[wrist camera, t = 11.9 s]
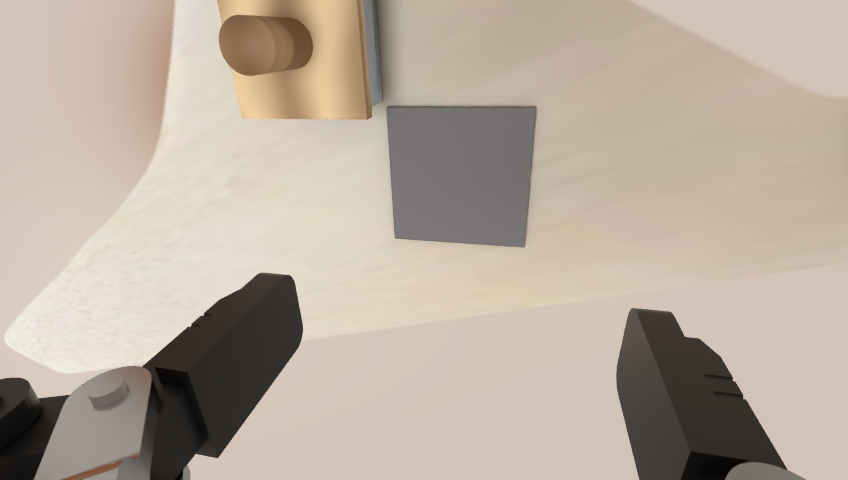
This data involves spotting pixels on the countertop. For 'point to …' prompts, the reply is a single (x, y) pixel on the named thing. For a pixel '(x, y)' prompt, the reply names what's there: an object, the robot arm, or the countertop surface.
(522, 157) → the mat
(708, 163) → the countertop surface
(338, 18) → the lid
